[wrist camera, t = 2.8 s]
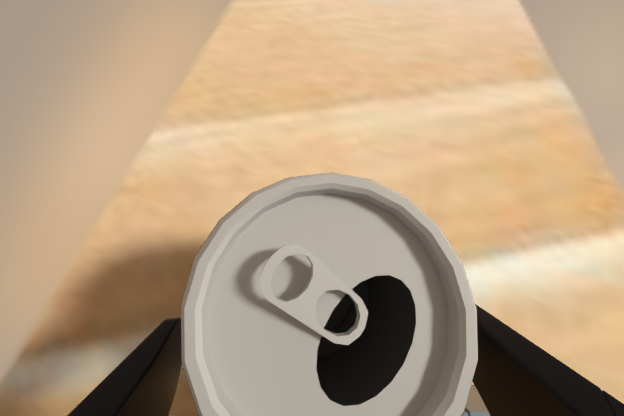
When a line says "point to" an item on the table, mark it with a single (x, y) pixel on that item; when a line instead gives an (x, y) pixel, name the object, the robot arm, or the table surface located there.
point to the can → (328, 307)
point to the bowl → (475, 404)
